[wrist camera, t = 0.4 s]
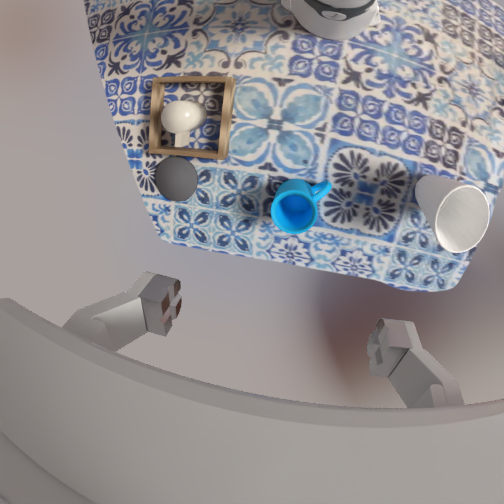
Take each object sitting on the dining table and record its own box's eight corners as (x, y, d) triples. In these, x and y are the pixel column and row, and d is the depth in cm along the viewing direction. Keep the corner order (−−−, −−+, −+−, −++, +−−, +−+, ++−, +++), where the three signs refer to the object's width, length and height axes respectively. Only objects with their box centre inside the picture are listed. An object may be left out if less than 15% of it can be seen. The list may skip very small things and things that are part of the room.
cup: (409, 157, 45) (444, 177, 32) (456, 170, 44) (497, 193, 30) (398, 212, 51) (425, 249, 38) (443, 221, 50) (477, 257, 36)
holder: (161, 78, 46) (153, 77, 43) (236, 79, 45) (231, 77, 42) (156, 150, 54) (148, 153, 51) (227, 156, 53) (222, 159, 50)
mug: (290, 224, 57) (287, 241, 50) (267, 192, 55) (261, 205, 48) (339, 195, 52) (344, 209, 45) (318, 161, 50) (320, 169, 43)
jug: (180, 100, 48) (162, 100, 42) (208, 101, 48) (193, 101, 41) (178, 141, 53) (159, 147, 46) (204, 143, 52) (189, 149, 45)
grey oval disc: (156, 154, 55) (155, 155, 54) (199, 158, 54) (198, 158, 53) (156, 197, 60) (155, 198, 59) (196, 203, 59) (195, 204, 58)
